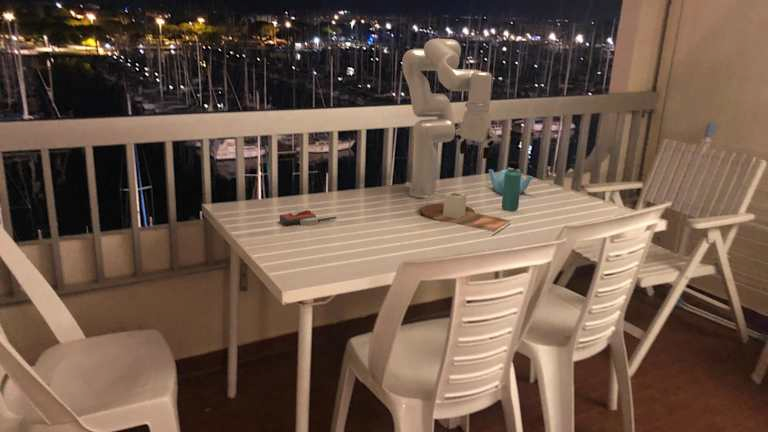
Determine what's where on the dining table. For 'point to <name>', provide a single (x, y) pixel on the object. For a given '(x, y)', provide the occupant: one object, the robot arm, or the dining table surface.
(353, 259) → the dining table surface
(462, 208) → the beige upright block
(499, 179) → the teapot
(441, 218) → the board
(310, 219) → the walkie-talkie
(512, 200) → the beverage bottle
